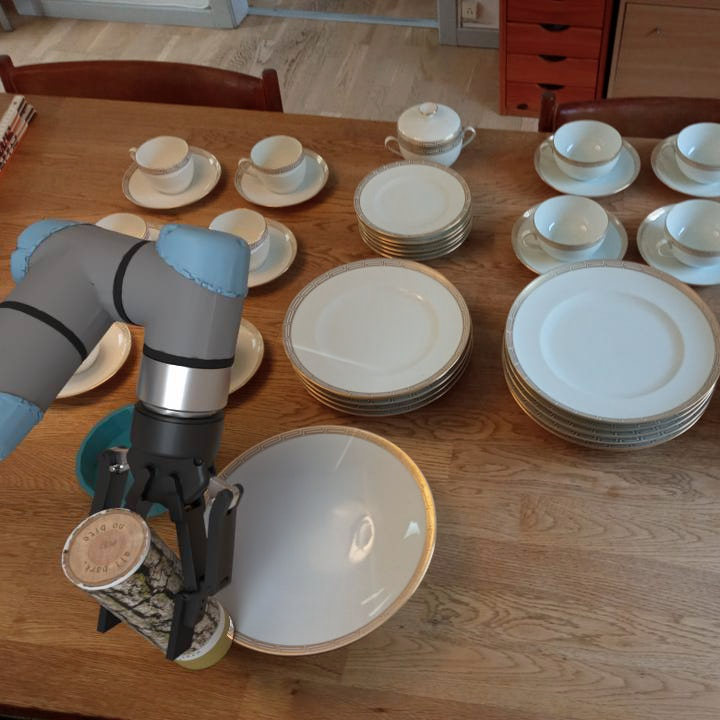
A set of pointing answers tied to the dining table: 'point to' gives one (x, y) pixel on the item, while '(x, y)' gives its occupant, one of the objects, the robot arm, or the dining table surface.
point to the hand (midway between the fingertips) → (144, 638)
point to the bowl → (104, 437)
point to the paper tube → (140, 582)
